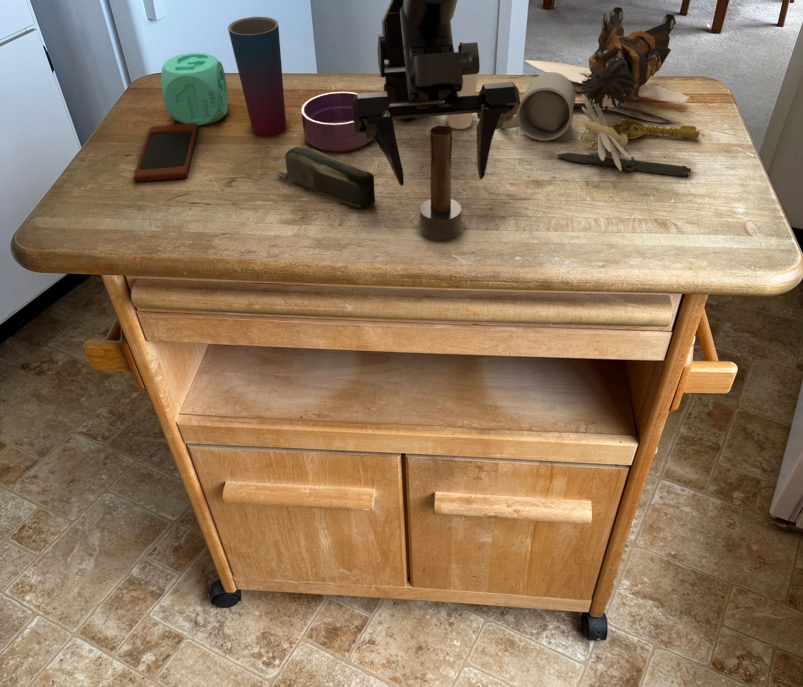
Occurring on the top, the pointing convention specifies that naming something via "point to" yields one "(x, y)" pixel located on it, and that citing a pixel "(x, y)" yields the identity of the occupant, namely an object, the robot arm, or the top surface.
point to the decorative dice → (194, 88)
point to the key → (653, 130)
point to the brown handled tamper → (440, 191)
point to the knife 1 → (575, 72)
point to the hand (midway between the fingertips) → (442, 181)
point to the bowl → (331, 122)
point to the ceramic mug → (545, 107)
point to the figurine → (625, 60)
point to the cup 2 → (467, 90)
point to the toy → (603, 134)
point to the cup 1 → (260, 72)
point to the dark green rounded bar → (330, 177)
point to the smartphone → (166, 152)
